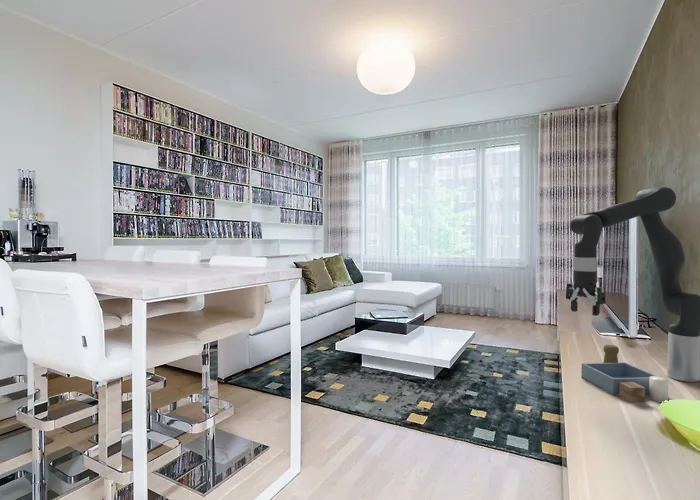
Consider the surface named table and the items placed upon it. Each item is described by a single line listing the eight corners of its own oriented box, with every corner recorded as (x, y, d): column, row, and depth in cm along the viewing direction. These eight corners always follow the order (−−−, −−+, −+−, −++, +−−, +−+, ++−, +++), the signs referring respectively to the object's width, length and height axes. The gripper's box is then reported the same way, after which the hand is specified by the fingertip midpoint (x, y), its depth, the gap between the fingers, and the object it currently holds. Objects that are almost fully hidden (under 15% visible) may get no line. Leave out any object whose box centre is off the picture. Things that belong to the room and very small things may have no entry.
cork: (611, 375, 154) (612, 347, 153) (598, 370, 159) (598, 343, 159) (623, 374, 155) (624, 346, 155) (609, 369, 161) (610, 342, 161)
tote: (624, 376, 152) (625, 362, 152) (661, 393, 136) (661, 377, 135) (581, 377, 151) (581, 363, 151) (612, 394, 135) (613, 379, 134)
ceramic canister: (659, 396, 134) (659, 375, 134) (671, 402, 129) (672, 381, 129) (645, 396, 133) (645, 376, 133) (657, 402, 128) (658, 381, 128)
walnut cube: (632, 396, 134) (633, 381, 134) (644, 402, 129) (645, 387, 129) (619, 396, 133) (619, 382, 133) (630, 402, 128) (630, 387, 128)
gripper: (611, 270, 137) (610, 316, 138) (575, 267, 151) (575, 309, 151) (595, 271, 135) (595, 318, 135) (561, 268, 148) (560, 310, 149)
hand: (584, 313), depth 143 cm, fingers open, 8 cm apart
